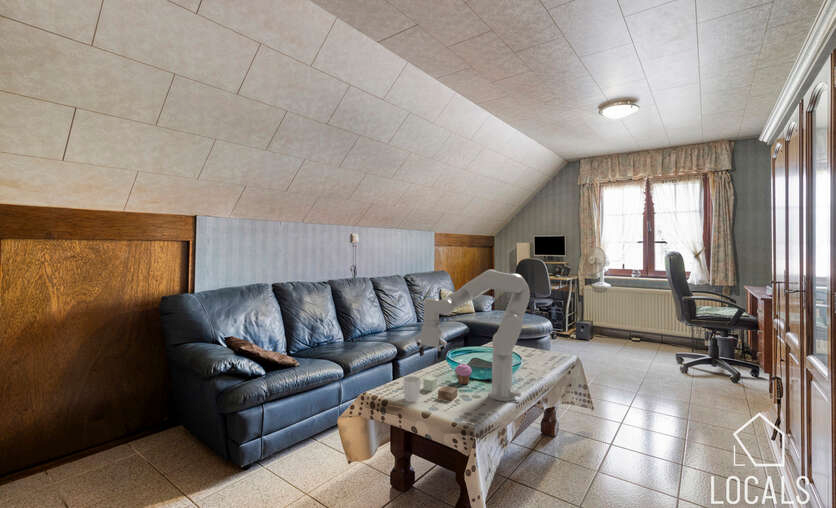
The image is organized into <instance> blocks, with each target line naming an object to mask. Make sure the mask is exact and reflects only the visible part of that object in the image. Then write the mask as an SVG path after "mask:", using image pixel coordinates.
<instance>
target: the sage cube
mask: <svg viewBox="0 0 836 508" xmlns="http://www.w3.org/2000/svg"><path fill="white" fill-rule="evenodd" d="M422 382H423V388H422V390H423V391H426V392H432V393H433V392H434V391H435V390H438V389H437V388H438V387H437V386H438V385H437V384H438V377H434V376H428V375H427V376H426V377H424V378H423V381H422Z"/></svg>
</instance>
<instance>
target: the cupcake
mask: <svg viewBox="0 0 836 508" xmlns="http://www.w3.org/2000/svg"><path fill="white" fill-rule="evenodd" d="M472 372H473V370H472V368H471V366H470V365H469V364H464V363H463V364H462V363H461V364H458V365H457V366H455V369H454V373H455V374H456V378H457V382H458V384H460V385H468V384H469V382H470V376H471V375H472Z"/></svg>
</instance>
